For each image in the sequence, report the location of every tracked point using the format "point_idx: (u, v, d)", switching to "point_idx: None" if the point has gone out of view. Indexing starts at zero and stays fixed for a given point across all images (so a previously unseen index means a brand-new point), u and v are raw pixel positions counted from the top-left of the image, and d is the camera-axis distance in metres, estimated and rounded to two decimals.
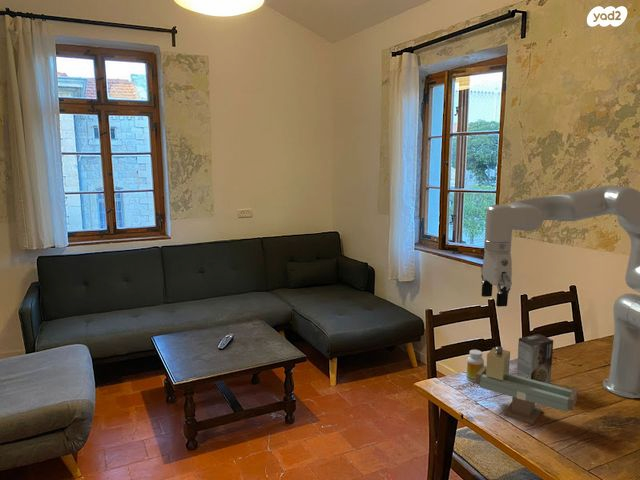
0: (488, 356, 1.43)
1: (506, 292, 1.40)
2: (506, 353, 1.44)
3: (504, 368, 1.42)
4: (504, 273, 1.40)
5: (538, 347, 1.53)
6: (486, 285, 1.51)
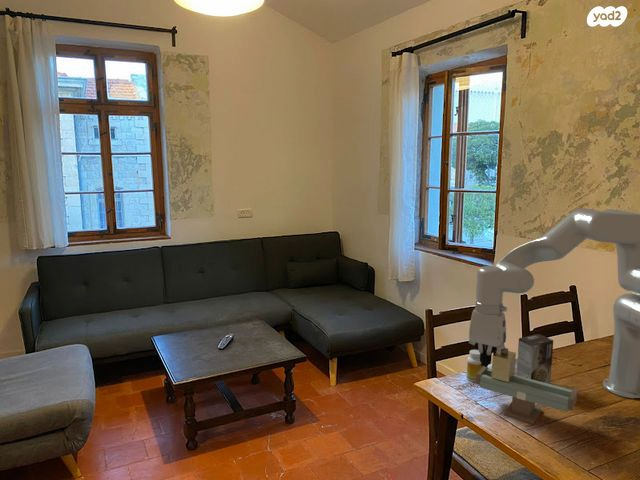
0: (493, 357, 1.42)
1: (493, 351, 1.45)
2: (512, 354, 1.43)
3: (510, 369, 1.41)
4: None
5: (538, 347, 1.53)
6: (484, 354, 1.46)
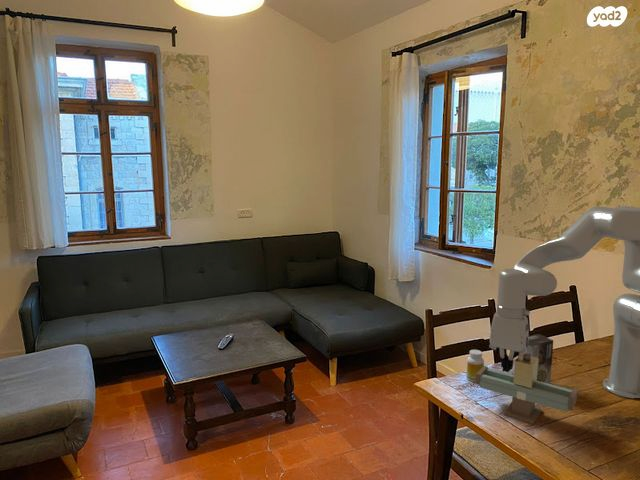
0: (516, 363, 1.38)
1: (515, 356, 1.42)
2: (534, 360, 1.39)
3: (533, 375, 1.37)
4: None
5: (538, 347, 1.53)
6: (506, 359, 1.43)
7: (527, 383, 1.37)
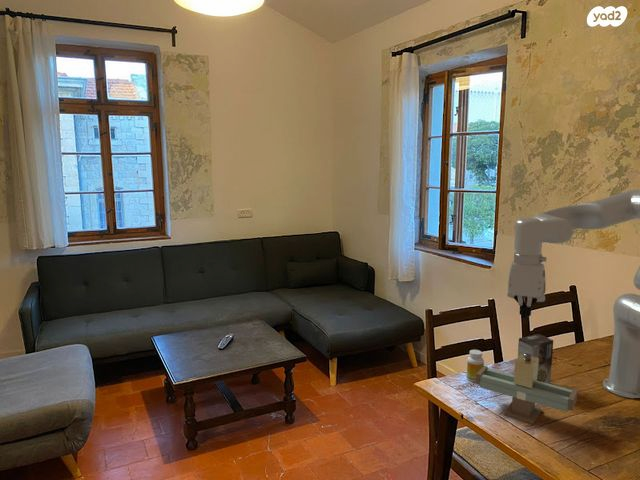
0: (516, 363, 1.38)
1: (533, 303, 1.46)
2: (535, 360, 1.39)
3: (533, 375, 1.37)
4: None
5: (538, 347, 1.53)
6: (524, 306, 1.47)
7: (527, 383, 1.37)
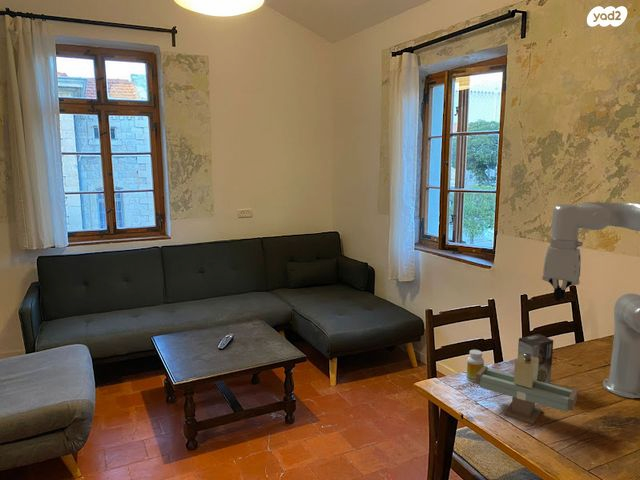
0: (516, 363, 1.38)
1: (567, 286, 1.52)
2: (535, 360, 1.39)
3: (533, 375, 1.37)
4: None
5: (538, 347, 1.53)
6: None
7: (527, 383, 1.37)
